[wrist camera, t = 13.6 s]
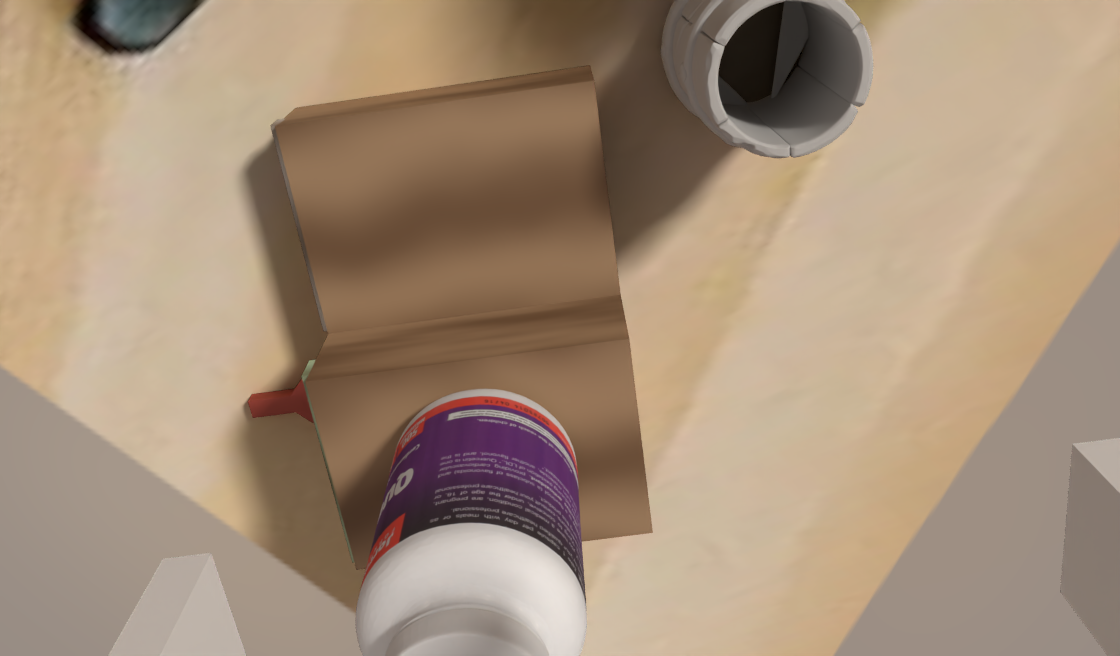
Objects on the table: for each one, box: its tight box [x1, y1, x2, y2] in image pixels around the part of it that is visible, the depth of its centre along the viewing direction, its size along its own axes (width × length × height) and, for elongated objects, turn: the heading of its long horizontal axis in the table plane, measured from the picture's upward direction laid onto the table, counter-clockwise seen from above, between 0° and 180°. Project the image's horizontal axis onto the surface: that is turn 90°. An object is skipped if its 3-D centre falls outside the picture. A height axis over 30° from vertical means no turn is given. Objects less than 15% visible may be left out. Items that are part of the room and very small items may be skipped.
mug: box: [661, 0, 873, 158], centre depth 40 cm, size 8×12×12 cm, turn 160°
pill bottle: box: [356, 389, 587, 656], centre depth 38 cm, size 8×8×14 cm
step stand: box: [248, 66, 653, 570], centre depth 46 cm, size 20×20×9 cm
